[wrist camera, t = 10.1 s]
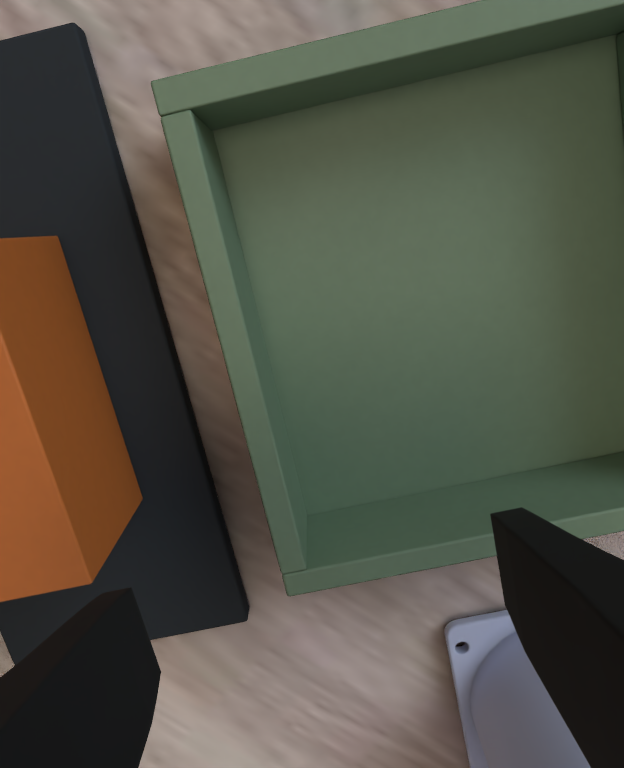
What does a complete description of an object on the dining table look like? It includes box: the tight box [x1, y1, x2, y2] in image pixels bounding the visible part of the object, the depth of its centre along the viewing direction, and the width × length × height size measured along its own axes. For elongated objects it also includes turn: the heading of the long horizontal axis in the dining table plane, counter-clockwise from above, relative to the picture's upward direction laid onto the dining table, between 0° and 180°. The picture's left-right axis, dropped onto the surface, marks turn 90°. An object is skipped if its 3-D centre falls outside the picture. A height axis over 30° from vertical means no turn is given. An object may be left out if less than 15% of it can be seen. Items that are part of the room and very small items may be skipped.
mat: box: [0, 23, 249, 665], centre depth 20 cm, size 20×9×1 cm, turn 12°
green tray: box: [151, 0, 624, 596], centre depth 17 cm, size 15×14×4 cm
